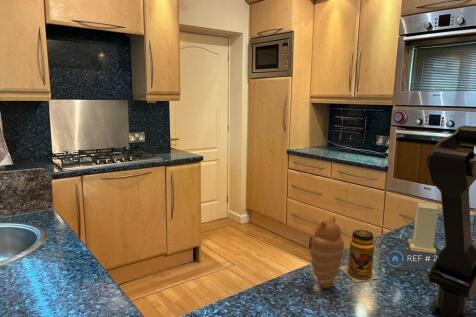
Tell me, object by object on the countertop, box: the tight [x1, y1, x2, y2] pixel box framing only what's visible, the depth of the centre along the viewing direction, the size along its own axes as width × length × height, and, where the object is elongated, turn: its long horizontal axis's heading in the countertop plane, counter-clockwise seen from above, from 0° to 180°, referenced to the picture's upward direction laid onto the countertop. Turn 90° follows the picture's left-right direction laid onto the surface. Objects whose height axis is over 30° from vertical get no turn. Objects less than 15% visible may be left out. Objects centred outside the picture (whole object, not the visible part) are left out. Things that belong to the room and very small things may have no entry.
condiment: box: [339, 229, 380, 283], centre depth 96 cm, size 7×8×12 cm
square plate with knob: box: [407, 238, 437, 255], centre depth 113 cm, size 7×7×4 cm
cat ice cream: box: [310, 216, 345, 289], centre depth 88 cm, size 9×8×18 cm
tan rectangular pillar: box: [412, 202, 439, 249], centre depth 112 cm, size 5×5×13 cm
